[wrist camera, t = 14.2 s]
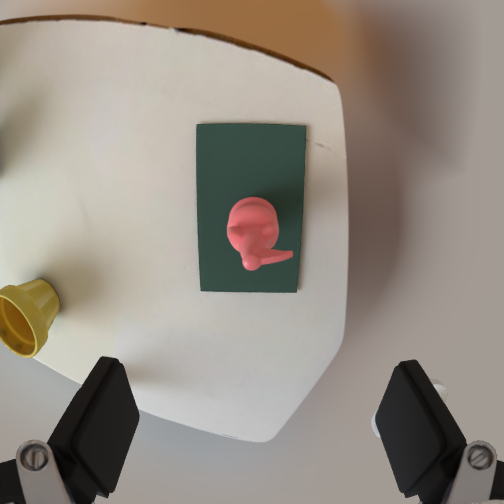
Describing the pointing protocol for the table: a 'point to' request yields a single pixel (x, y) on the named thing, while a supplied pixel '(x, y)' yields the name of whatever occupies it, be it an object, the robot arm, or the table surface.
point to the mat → (243, 186)
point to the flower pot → (27, 316)
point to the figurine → (255, 232)
